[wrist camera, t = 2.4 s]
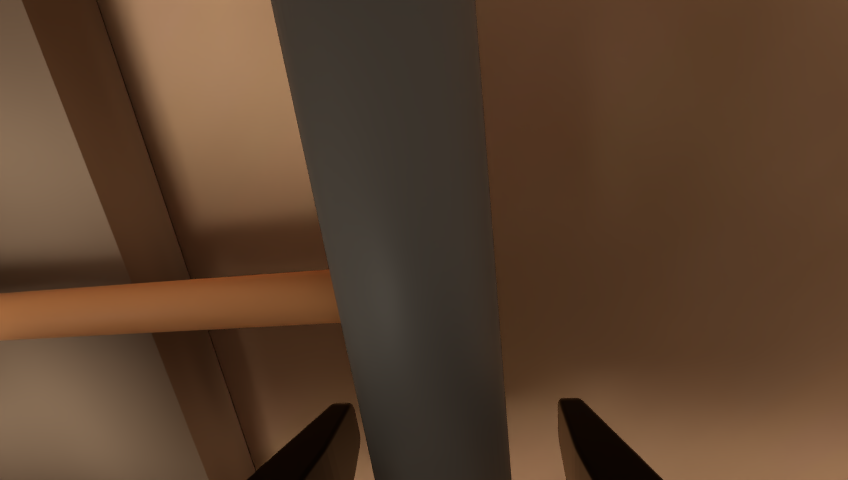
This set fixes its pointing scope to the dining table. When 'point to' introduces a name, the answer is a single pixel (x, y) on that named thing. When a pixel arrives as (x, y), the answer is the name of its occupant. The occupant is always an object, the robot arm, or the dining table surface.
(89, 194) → the brown wooden tray
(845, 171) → the dining table surface
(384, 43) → the corded block
